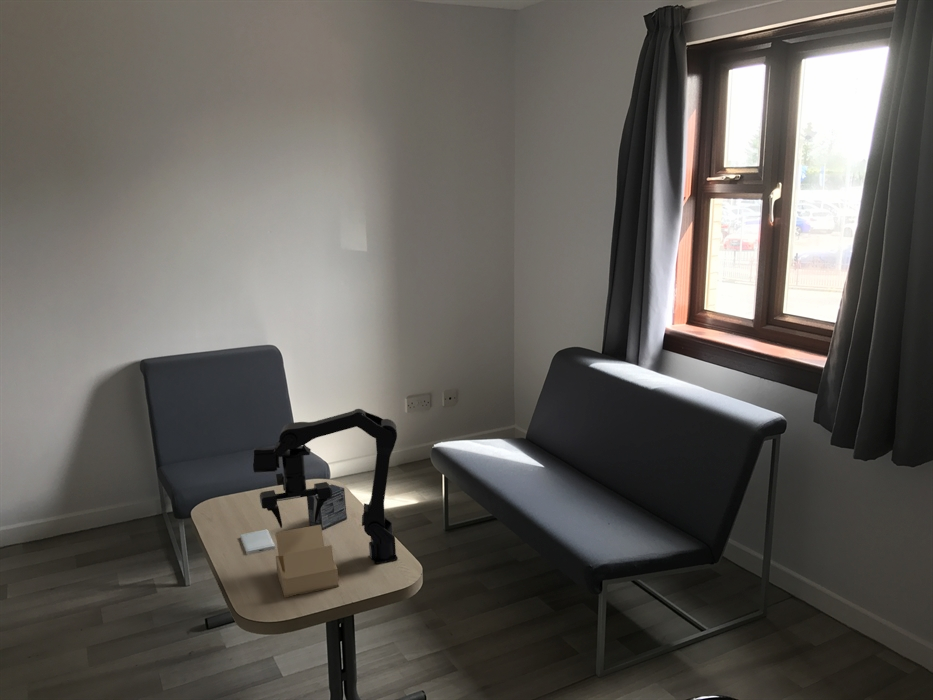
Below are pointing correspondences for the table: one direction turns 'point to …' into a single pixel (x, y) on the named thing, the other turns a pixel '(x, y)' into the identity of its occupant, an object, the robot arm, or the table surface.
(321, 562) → the flap
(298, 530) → the flap
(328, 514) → the small box
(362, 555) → the table surface
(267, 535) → the hard drive
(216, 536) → the table surface
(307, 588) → the carton
